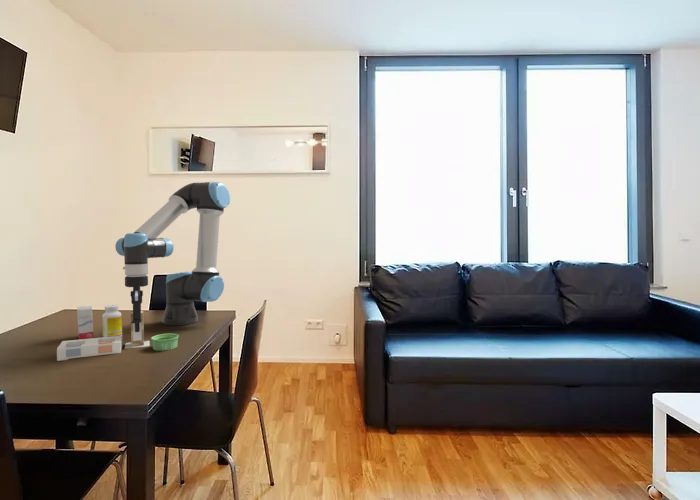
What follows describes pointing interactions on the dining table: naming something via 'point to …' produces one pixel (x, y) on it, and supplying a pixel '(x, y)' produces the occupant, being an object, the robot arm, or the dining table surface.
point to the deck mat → (128, 345)
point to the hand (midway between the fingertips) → (137, 338)
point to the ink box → (85, 322)
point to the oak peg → (141, 342)
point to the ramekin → (164, 341)
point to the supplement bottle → (112, 321)
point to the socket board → (89, 347)
